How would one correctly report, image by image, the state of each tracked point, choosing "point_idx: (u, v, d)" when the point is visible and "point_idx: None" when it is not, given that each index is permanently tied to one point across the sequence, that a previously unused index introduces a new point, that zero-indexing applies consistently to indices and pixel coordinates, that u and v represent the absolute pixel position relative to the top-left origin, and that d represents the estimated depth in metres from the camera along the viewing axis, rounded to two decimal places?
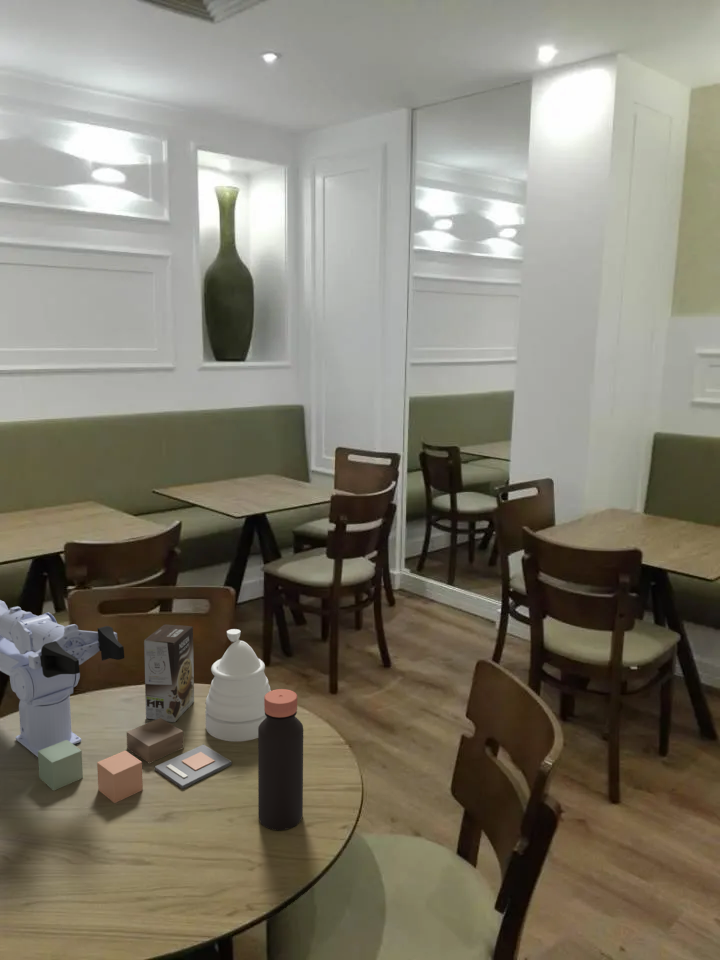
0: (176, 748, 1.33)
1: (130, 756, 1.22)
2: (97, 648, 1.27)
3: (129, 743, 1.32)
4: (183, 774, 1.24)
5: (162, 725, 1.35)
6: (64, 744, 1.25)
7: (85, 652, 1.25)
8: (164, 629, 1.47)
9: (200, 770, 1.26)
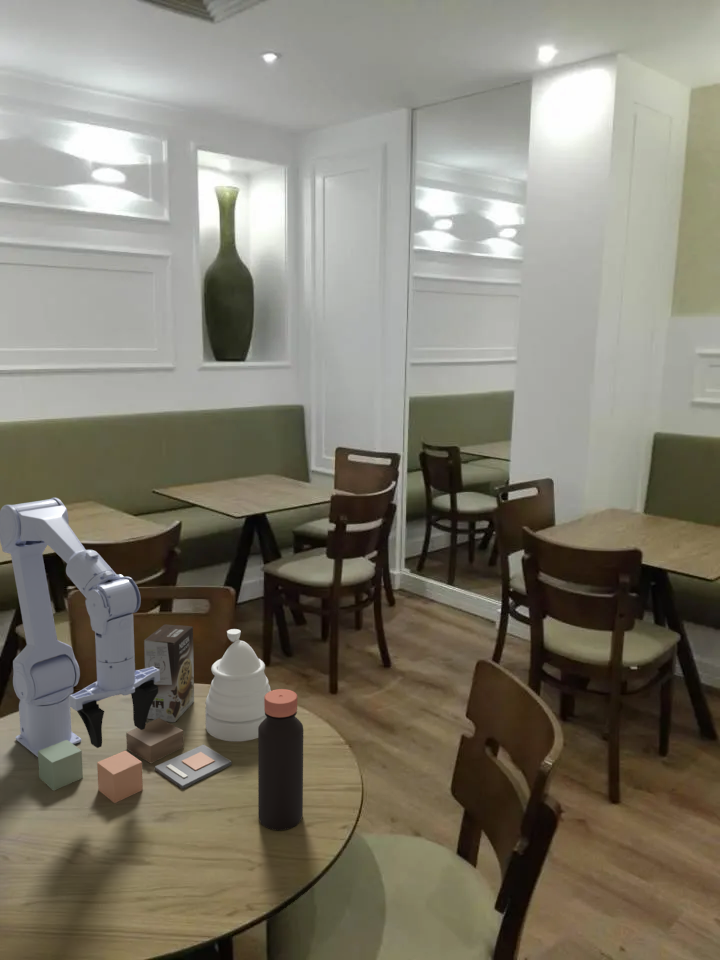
0: (177, 747, 1.33)
1: (130, 756, 1.22)
2: None
3: (129, 744, 1.32)
4: (183, 774, 1.24)
5: (161, 725, 1.35)
6: (64, 744, 1.25)
7: None
8: (164, 629, 1.47)
9: (200, 770, 1.26)
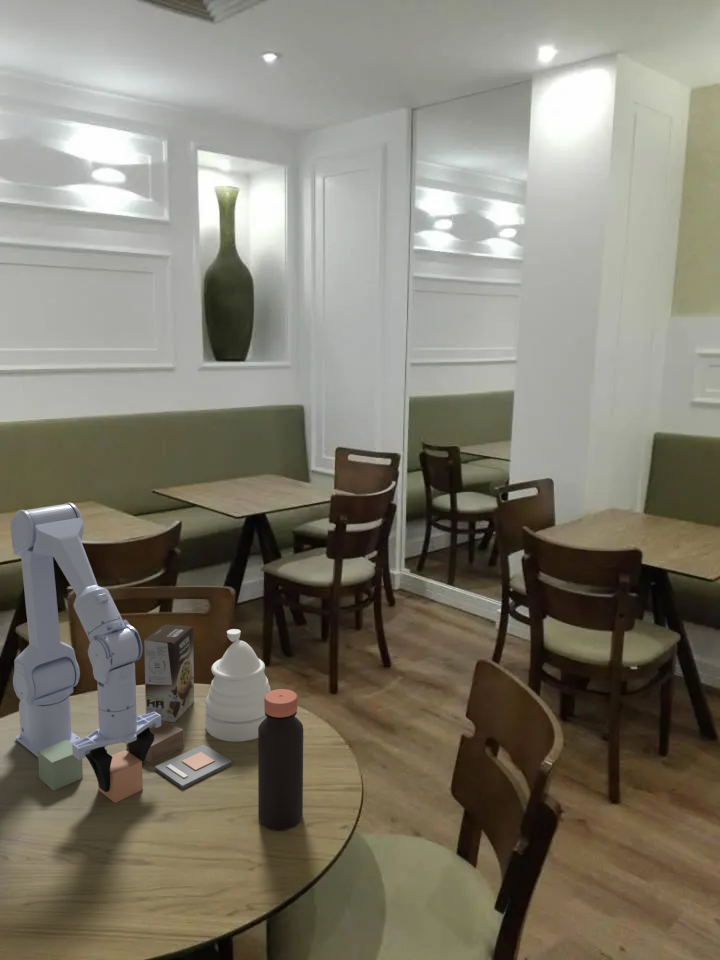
0: (177, 746, 1.33)
1: (130, 756, 1.22)
2: None
3: None
4: (183, 774, 1.24)
5: (161, 724, 1.35)
6: (64, 744, 1.25)
7: None
8: (164, 629, 1.47)
9: (200, 770, 1.26)
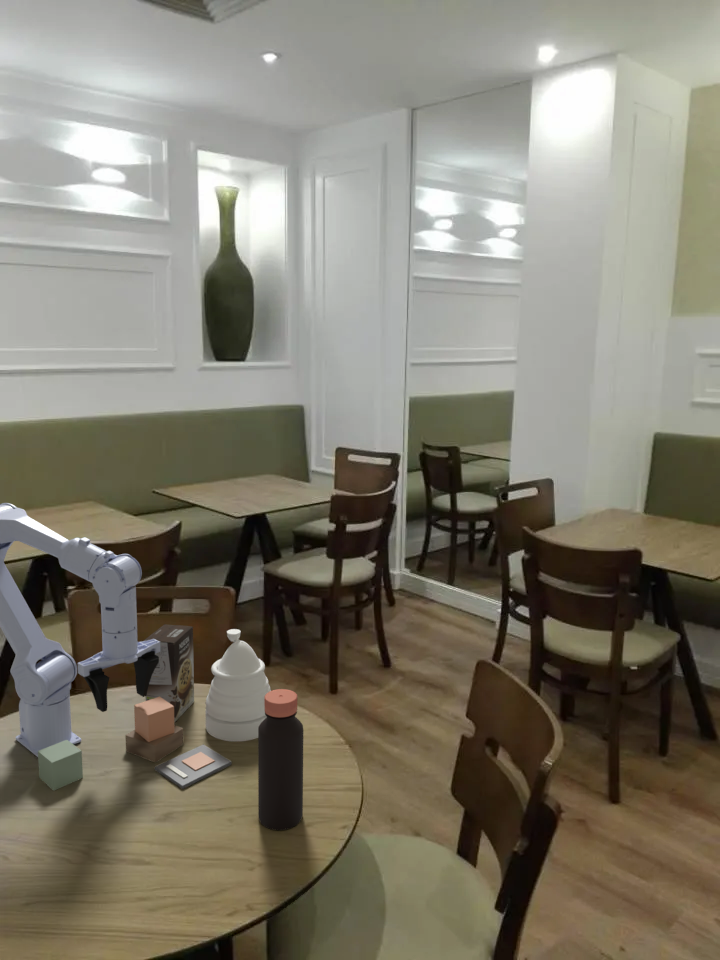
0: (178, 745, 1.34)
1: (163, 701, 1.34)
2: None
3: (129, 746, 1.32)
4: (183, 774, 1.24)
5: None
6: (64, 744, 1.25)
7: None
8: (164, 629, 1.47)
9: (200, 770, 1.26)
